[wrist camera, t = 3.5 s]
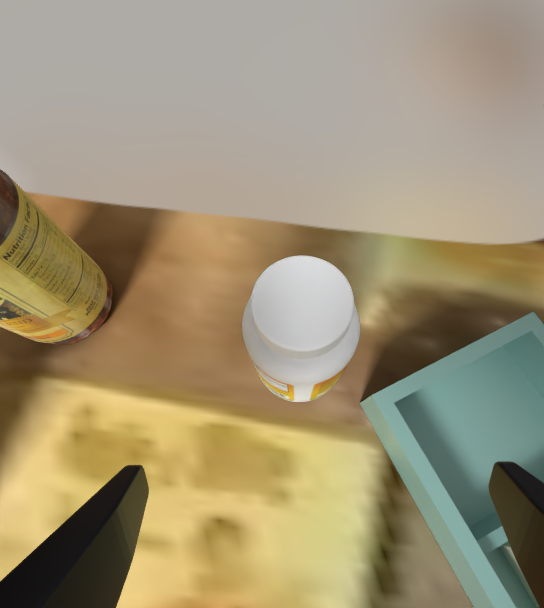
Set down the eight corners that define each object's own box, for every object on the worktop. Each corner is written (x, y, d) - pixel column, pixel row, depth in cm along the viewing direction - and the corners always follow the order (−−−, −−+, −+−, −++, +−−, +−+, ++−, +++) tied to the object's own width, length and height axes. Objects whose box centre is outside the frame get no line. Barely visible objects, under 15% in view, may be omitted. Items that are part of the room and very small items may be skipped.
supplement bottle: (338, 317, 24) (365, 235, 15) (345, 402, 22) (383, 367, 13) (255, 319, 24) (233, 241, 15) (255, 404, 22) (229, 372, 13)
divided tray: (723, 623, 17) (824, 664, 14) (549, 743, 16) (615, 818, 13) (499, 331, 23) (533, 311, 20) (359, 403, 22) (371, 395, 18)
